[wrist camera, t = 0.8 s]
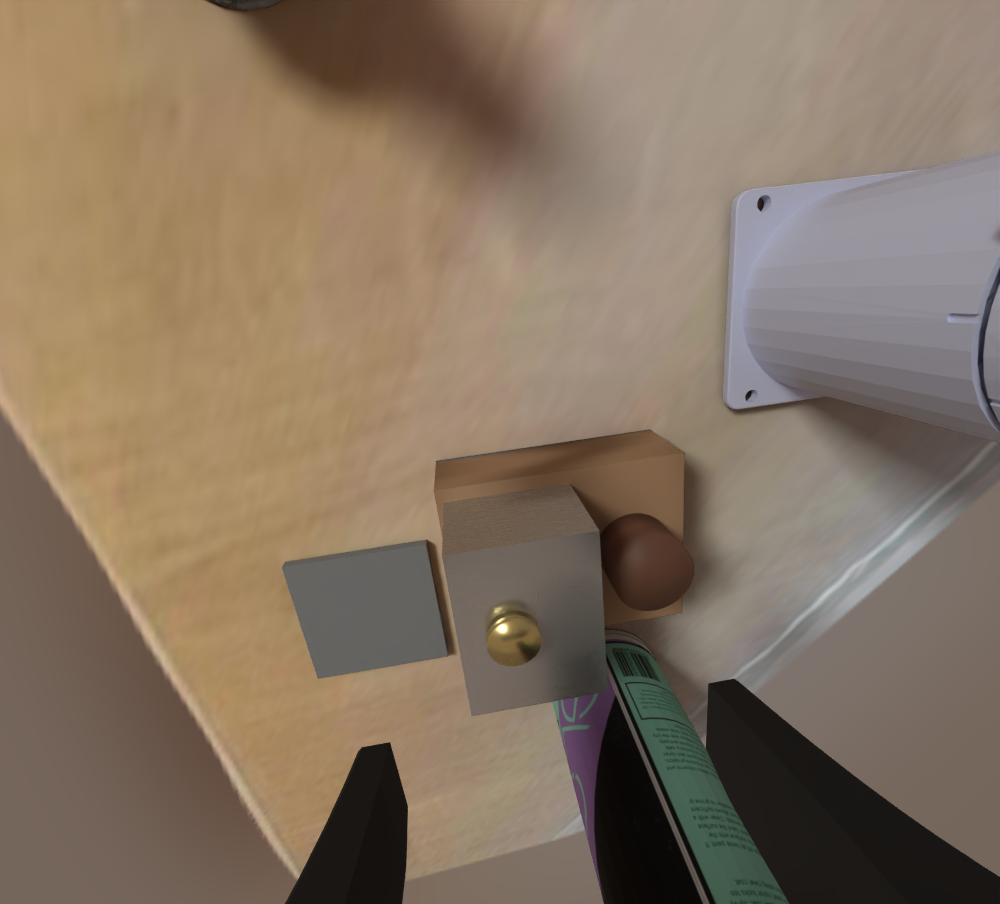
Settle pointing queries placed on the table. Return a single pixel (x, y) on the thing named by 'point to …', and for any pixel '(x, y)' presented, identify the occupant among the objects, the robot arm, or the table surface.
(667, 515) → the body
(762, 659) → the table surface
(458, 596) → the grey knob block
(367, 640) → the mat
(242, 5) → the salt shaker
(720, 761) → the robot arm
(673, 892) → the spray can
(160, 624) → the table surface
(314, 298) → the table surface
